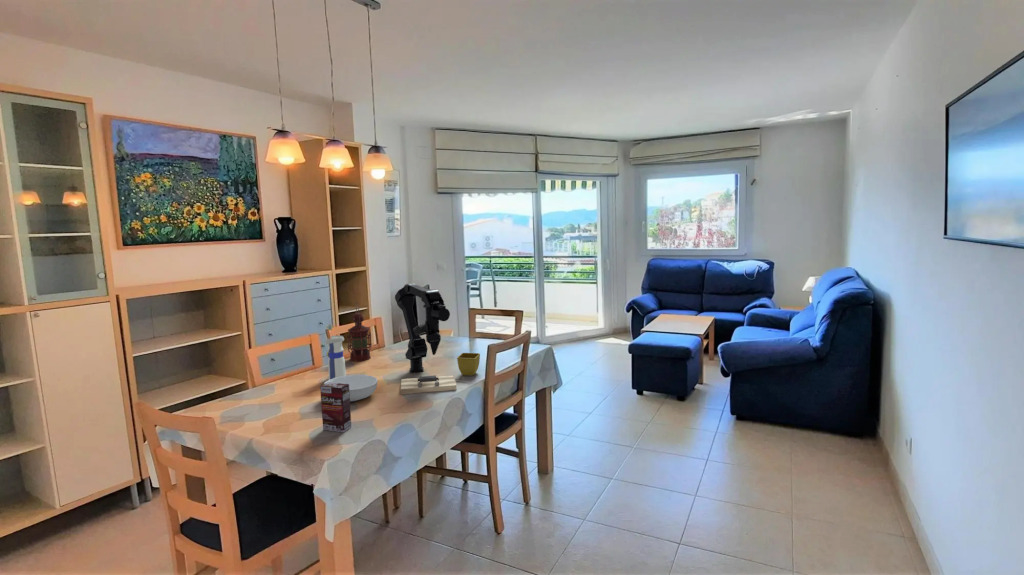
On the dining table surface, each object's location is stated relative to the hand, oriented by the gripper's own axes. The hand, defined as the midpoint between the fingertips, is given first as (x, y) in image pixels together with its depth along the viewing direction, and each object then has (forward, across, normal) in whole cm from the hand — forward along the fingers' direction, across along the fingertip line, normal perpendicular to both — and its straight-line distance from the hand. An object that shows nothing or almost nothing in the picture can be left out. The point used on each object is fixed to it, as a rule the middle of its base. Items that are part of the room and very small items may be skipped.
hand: (433, 352), depth 233 cm
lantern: (+12, -43, -37) cm, 58 cm away
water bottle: (+12, -10, -44) cm, 47 cm away
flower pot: (+12, -2, +16) cm, 20 cm away
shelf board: (+12, +12, -3) cm, 17 cm away
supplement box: (+12, +51, -35) cm, 63 cm away
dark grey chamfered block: (+12, +9, -3) cm, 15 cm away
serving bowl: (+12, +19, -34) cm, 41 cm away
